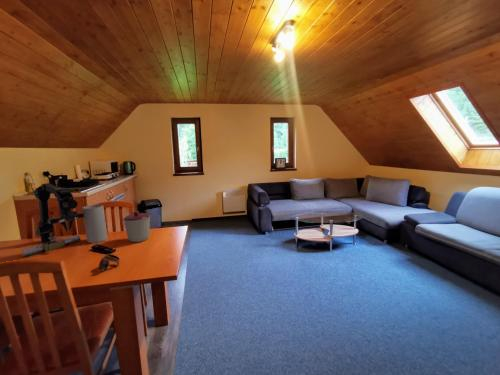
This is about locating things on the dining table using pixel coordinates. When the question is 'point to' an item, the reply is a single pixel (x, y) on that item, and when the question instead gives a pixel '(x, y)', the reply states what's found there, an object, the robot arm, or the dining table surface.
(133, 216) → the canister
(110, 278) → the dining table surface
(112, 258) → the dark curved loop
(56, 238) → the lever
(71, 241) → the valve
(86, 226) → the cylinder vase
